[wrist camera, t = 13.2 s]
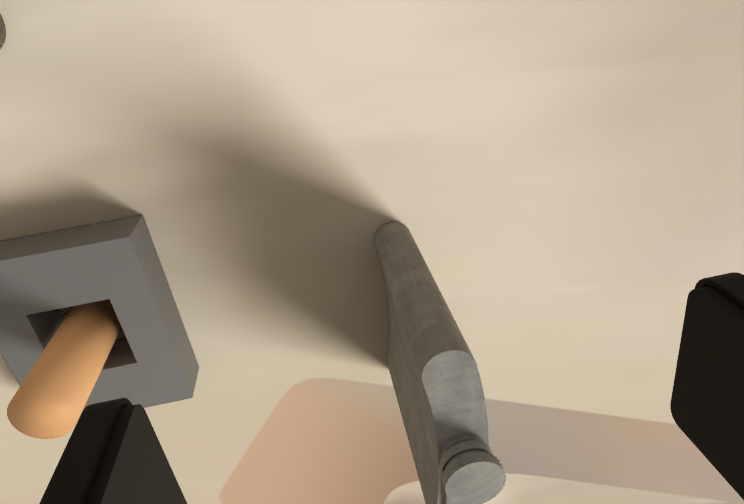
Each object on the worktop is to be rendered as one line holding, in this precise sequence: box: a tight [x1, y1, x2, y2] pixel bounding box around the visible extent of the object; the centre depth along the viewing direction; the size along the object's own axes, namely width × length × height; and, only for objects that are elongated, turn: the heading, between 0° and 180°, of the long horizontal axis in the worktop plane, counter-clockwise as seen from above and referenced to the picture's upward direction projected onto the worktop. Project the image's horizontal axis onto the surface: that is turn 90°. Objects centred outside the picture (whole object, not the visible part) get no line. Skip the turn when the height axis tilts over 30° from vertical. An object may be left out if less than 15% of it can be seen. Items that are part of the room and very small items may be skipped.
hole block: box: [0, 215, 199, 422], centre depth 42 cm, size 15×12×4 cm
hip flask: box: [374, 222, 506, 504], centre depth 39 cm, size 16×4×20 cm, turn 6°
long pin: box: [7, 299, 122, 439], centre depth 39 cm, size 4×4×12 cm
